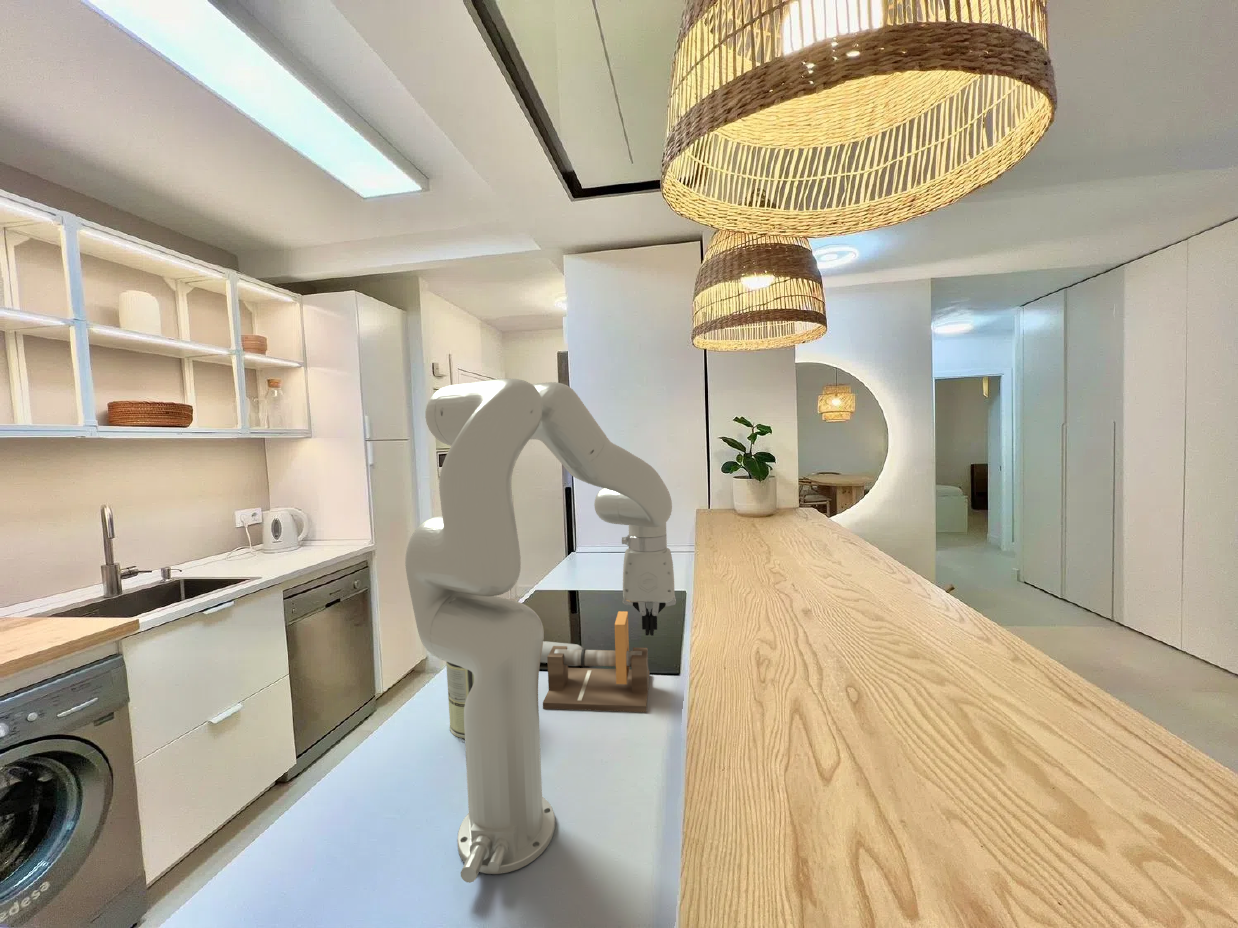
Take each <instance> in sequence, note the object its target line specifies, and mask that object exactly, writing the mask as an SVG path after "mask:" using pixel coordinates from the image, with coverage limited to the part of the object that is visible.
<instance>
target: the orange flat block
mask: <svg viewBox="0 0 1238 928" xmlns="http://www.w3.org/2000/svg"><path fill="white" fill-rule="evenodd" d="M629 635H630V634H629V611H621V610H620V611H619V610H618V612H617V615H616V618H615V622H614V647H615V648H614V650H615V658H616V666H615V669H616V684H626V683H627V678H628V672H629V669H630V667H627V661H626V653H627V651H630V643H629V641H630V639H629V637H630V636H629Z"/></svg>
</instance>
